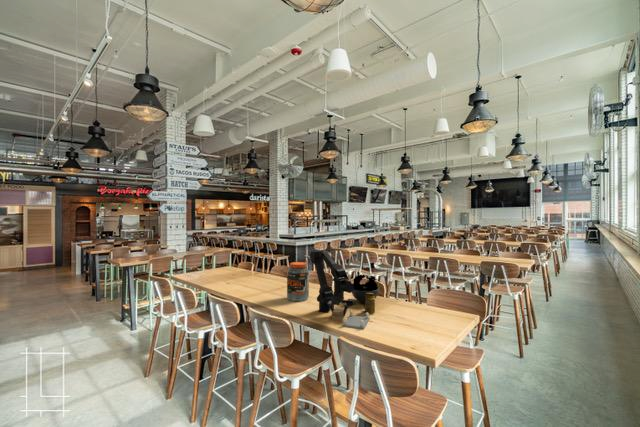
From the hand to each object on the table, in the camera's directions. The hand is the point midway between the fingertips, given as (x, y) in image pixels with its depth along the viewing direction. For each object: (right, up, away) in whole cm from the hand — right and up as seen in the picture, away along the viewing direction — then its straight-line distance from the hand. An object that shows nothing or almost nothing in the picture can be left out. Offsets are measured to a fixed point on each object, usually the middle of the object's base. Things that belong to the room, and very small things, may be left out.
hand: (338, 315), depth 177 cm
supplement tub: (-27, -1, +38) cm, 47 cm away
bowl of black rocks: (+20, -1, +31) cm, 37 cm away
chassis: (+10, -1, -9) cm, 13 cm away
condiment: (+19, -1, +9) cm, 21 cm away
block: (0, -1, 0) cm, 1 cm away
